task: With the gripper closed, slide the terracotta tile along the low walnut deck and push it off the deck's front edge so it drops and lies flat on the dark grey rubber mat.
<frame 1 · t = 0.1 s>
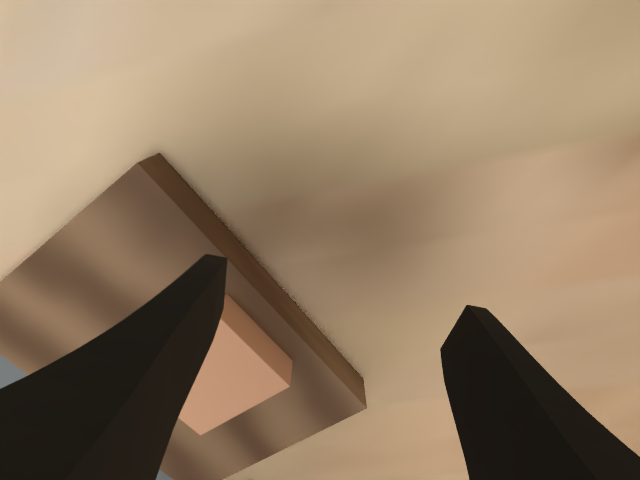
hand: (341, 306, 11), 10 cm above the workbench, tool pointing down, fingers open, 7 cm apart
deck: (186, 340, 25), on the workbench
tile: (217, 355, 22), point 2 cm above the workbench, touching deck
mat: (45, 432, 29), on the workbench
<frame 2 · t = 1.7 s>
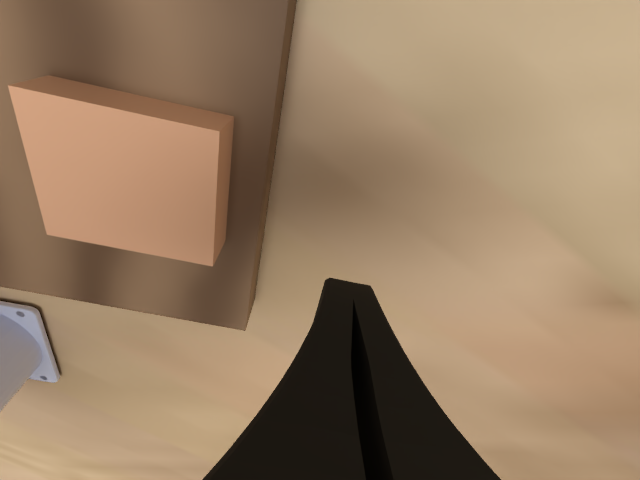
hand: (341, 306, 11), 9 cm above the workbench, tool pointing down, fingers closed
deck: (106, 114, 17), on the workbench
tile: (148, 168, 15), point 2 cm above the workbench, touching deck
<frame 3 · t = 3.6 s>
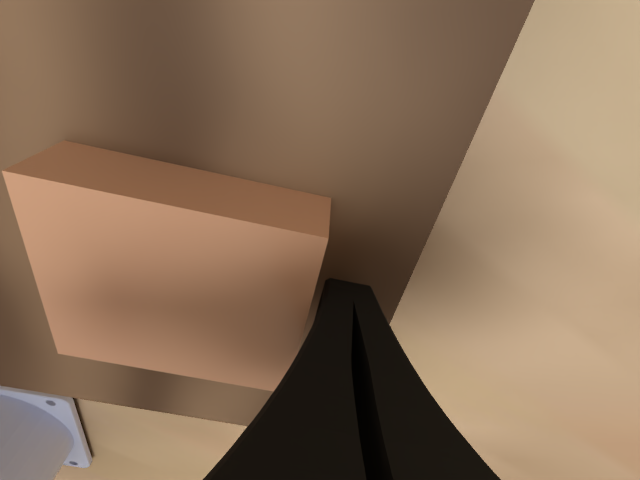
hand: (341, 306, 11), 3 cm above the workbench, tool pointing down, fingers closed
deck: (179, 187, 12), on the workbench
tile: (198, 259, 11), point 3 cm above the workbench
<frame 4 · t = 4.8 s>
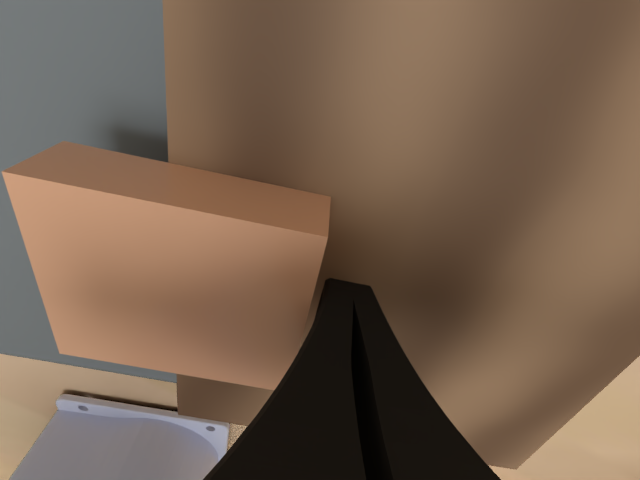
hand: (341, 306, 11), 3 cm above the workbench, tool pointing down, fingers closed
deck: (418, 236, 13), on the workbench
tile: (199, 258, 11), point 2 cm above the workbench, touching deck
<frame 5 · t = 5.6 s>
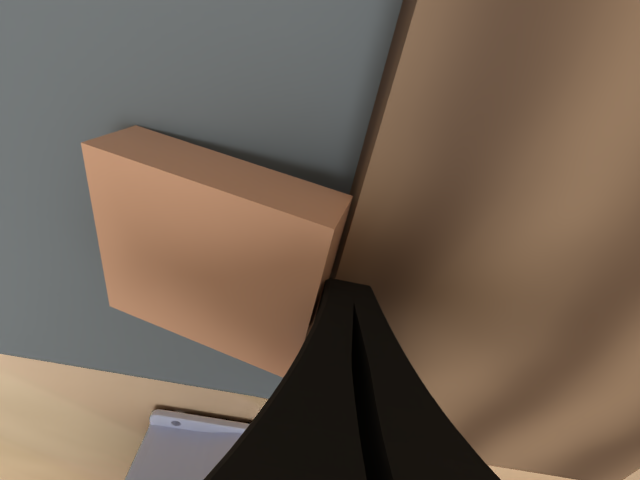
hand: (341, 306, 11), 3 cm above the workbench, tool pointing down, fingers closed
deck: (548, 263, 13), on the workbench
tile: (232, 241, 12), point 1 cm above the workbench, tilted 14°, touching gripper
mat: (118, 175, 12), on the workbench
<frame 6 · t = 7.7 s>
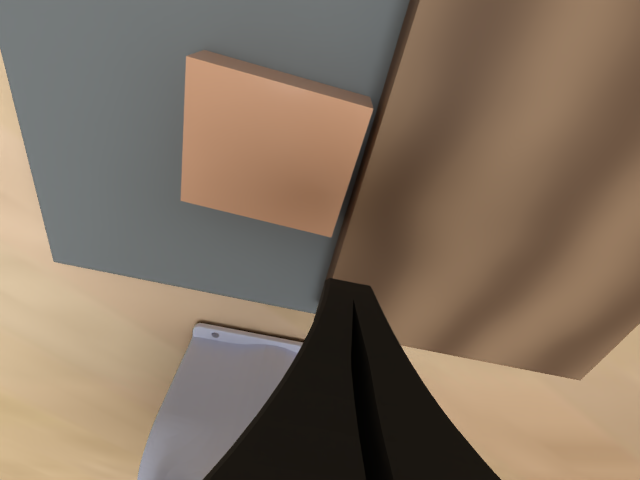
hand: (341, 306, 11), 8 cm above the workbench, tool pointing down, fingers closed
deck: (526, 181, 17), on the workbench
tile: (276, 143, 16), resting on mat
mat: (194, 102, 16), on the workbench
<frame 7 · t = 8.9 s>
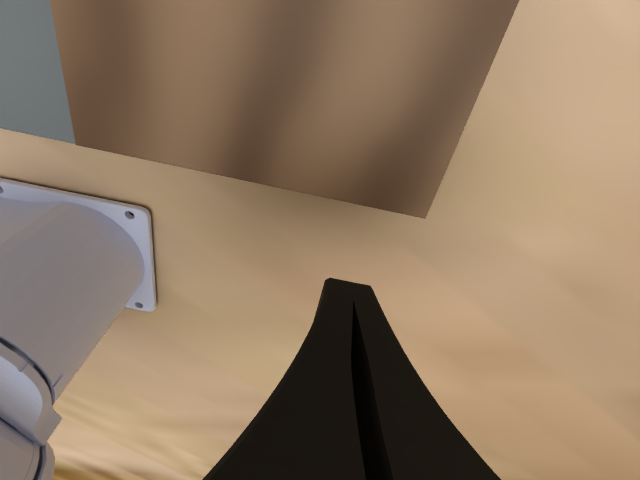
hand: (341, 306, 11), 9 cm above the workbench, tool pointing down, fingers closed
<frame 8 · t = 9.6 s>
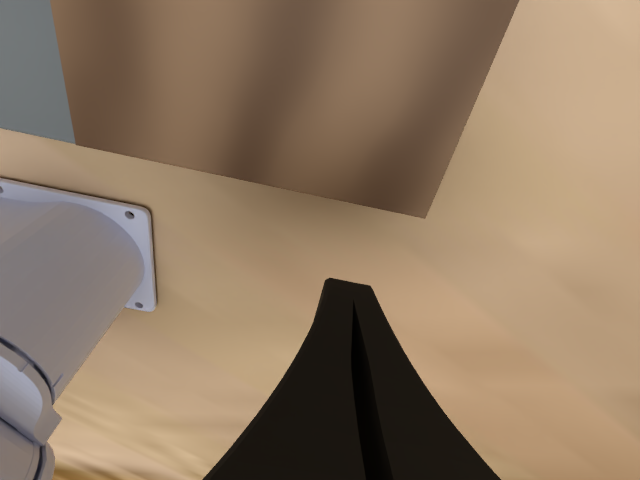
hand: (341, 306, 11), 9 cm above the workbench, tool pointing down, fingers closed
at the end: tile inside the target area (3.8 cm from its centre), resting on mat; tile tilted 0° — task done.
